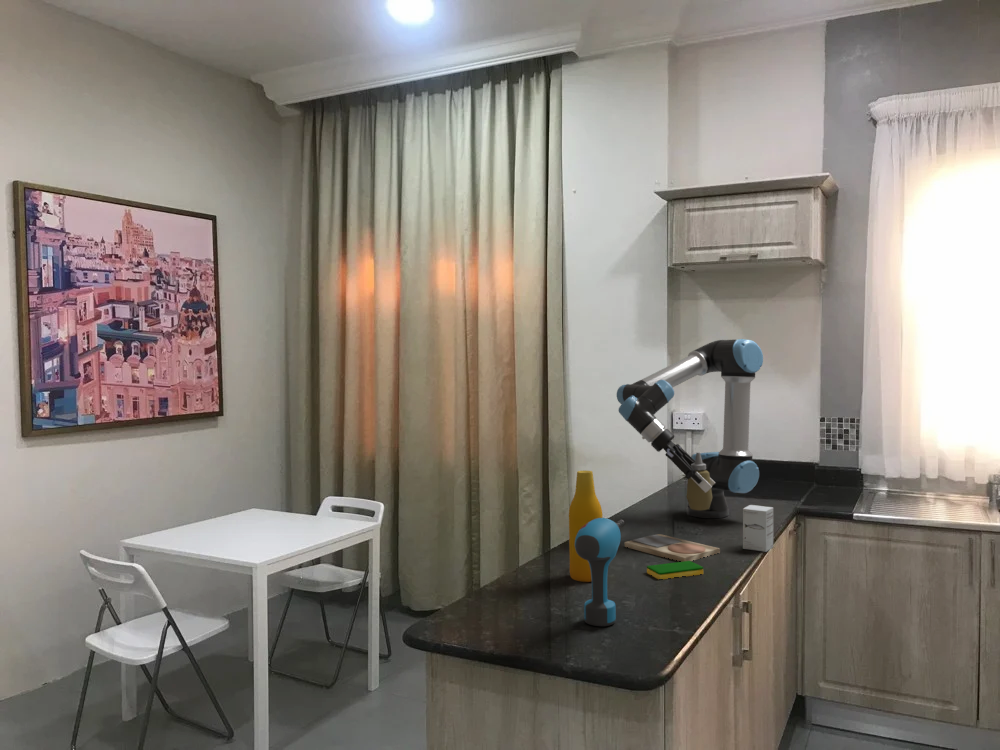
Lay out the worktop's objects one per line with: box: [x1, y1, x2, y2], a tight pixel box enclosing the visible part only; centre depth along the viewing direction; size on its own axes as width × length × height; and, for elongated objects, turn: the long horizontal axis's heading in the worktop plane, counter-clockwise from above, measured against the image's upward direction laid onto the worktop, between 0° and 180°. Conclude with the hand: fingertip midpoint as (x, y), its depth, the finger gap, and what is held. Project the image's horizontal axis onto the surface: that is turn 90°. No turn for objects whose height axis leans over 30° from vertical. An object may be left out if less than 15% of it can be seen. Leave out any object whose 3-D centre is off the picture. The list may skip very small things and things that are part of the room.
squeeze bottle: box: [685, 452, 712, 510], centre depth 243 cm, size 8×8×18 cm
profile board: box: [624, 533, 721, 562], centre depth 234 cm, size 16×24×2 cm, turn 36°
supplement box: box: [742, 504, 775, 553], centre depth 234 cm, size 7×7×13 cm
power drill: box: [575, 517, 625, 627], centre depth 178 cm, size 28×9×23 cm, turn 154°
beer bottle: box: [568, 470, 604, 583], centre depth 208 cm, size 9×9×29 cm
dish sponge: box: [646, 561, 704, 580], centre depth 210 cm, size 7×14×2 cm, turn 108°
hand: (710, 487), depth 242 cm, fingers closed on squeeze bottle, 6 cm apart
